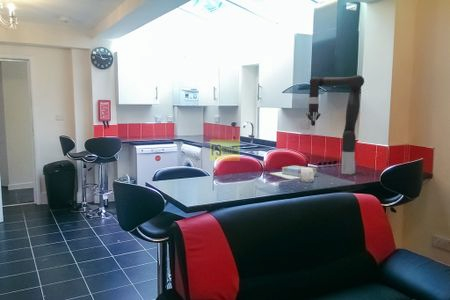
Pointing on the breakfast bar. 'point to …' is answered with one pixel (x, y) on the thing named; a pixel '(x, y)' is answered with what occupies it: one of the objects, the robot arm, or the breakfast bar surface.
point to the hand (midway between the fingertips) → (313, 125)
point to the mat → (285, 175)
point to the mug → (307, 174)
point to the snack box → (295, 170)
